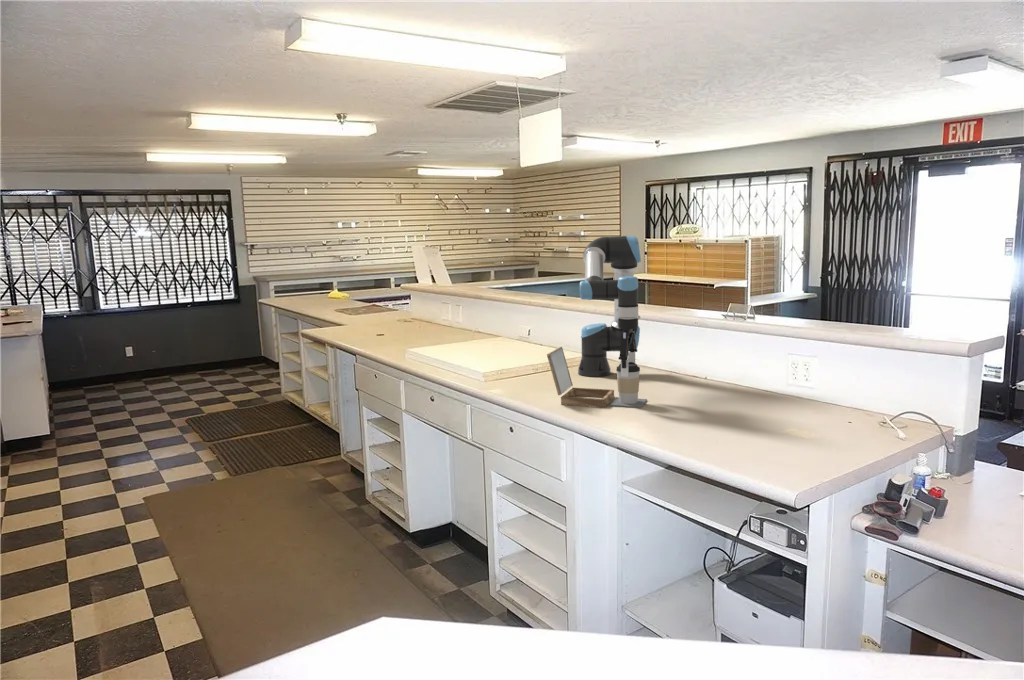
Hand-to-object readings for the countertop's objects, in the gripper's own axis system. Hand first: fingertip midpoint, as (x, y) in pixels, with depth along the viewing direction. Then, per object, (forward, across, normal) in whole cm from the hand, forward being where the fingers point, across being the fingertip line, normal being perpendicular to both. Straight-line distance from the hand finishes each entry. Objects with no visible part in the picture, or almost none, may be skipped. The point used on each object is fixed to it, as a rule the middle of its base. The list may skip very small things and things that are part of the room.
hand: (628, 372), depth 254 cm
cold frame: (+12, +1, -16) cm, 20 cm away
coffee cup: (+12, +1, 0) cm, 12 cm away
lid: (0, 0, -27) cm, 27 cm away
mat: (+12, +1, 0) cm, 12 cm away
